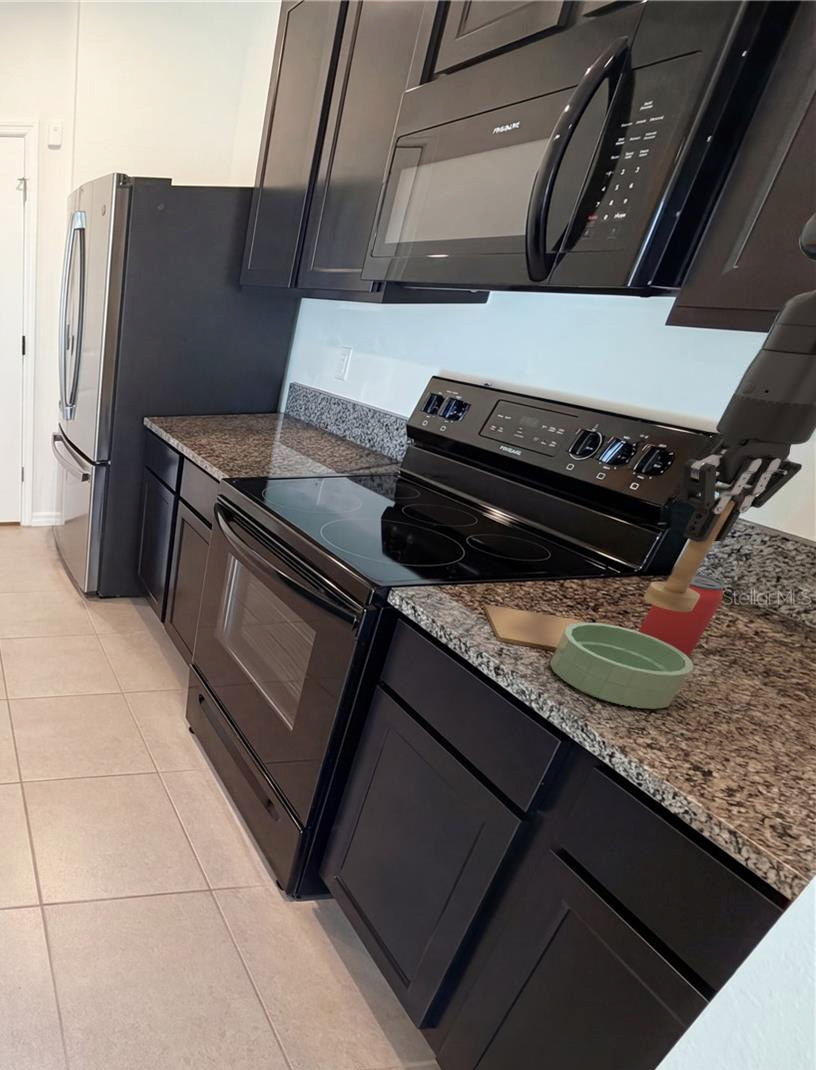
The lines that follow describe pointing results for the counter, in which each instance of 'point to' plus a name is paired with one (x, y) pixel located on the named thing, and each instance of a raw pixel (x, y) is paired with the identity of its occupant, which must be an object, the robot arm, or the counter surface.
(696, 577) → the beer can
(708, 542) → the muddler
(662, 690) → the bowl
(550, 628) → the plate
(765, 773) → the counter surface
